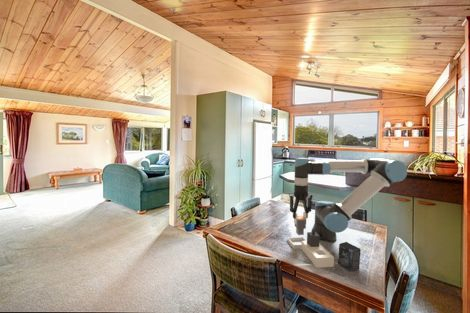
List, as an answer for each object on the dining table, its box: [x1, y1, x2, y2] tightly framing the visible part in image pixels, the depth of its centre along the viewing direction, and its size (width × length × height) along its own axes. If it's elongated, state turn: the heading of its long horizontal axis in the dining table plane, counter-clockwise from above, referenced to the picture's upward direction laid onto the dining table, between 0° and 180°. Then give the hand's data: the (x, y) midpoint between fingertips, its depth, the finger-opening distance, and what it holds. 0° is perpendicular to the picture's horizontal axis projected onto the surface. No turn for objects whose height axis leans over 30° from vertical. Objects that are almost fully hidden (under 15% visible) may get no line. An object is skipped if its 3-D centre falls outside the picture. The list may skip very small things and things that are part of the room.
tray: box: [286, 236, 307, 250], centre depth 129 cm, size 10×10×2 cm
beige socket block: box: [300, 241, 336, 269], centre depth 116 cm, size 16×18×5 cm
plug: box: [294, 215, 307, 236], centre depth 128 cm, size 5×5×10 cm
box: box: [337, 241, 362, 272], centre depth 108 cm, size 8×6×11 cm
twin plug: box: [306, 227, 321, 247], centre depth 119 cm, size 5×5×13 cm
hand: (300, 223), depth 128 cm, fingers closed on plug, 5 cm apart
